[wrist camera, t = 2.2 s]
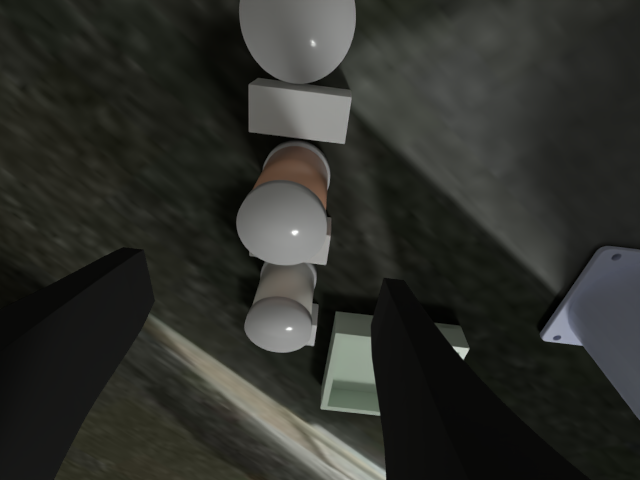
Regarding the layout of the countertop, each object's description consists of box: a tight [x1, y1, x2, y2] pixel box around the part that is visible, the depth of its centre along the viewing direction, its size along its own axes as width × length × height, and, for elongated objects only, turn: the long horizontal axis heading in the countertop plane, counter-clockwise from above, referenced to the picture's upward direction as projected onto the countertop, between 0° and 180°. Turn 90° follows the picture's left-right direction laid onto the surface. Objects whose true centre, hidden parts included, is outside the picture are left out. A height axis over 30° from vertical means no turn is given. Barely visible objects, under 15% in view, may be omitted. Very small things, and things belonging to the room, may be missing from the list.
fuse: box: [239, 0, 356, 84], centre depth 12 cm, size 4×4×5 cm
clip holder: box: [249, 78, 352, 346], centre depth 17 cm, size 4×23×2 cm, turn 174°
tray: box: [321, 311, 469, 415], centre depth 26 cm, size 9×9×2 cm
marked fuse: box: [236, 140, 330, 265], centre depth 16 cm, size 4×4×6 cm
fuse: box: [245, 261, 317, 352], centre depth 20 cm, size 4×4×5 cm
